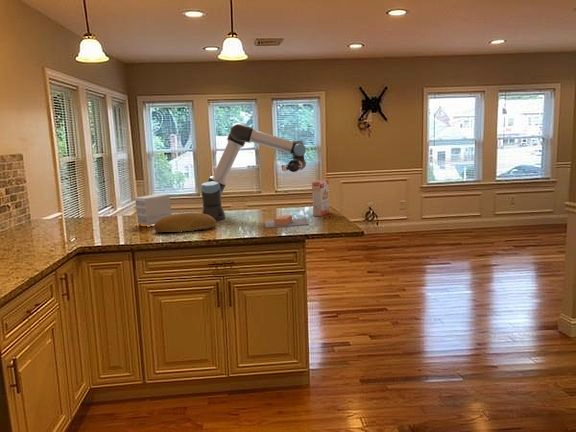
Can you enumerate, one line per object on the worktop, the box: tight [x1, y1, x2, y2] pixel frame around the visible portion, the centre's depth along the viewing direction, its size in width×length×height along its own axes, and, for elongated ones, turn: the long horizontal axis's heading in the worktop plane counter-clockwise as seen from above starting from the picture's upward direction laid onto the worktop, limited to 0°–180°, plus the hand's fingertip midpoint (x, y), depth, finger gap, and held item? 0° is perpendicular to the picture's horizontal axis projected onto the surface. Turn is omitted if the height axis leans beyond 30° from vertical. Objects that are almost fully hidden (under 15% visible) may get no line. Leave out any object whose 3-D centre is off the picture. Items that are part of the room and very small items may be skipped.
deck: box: [273, 214, 293, 225], centre depth 268 cm, size 4×7×12 cm
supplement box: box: [134, 193, 172, 225], centre depth 295 cm, size 17×13×18 cm
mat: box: [264, 217, 310, 229], centre depth 270 cm, size 24×19×1 cm
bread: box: [153, 212, 217, 233], centre depth 271 cm, size 18×35×10 cm, turn 97°
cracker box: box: [311, 179, 331, 217], centre depth 290 cm, size 14×6×21 cm, turn 154°
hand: (283, 168), depth 281 cm, fingers closed
